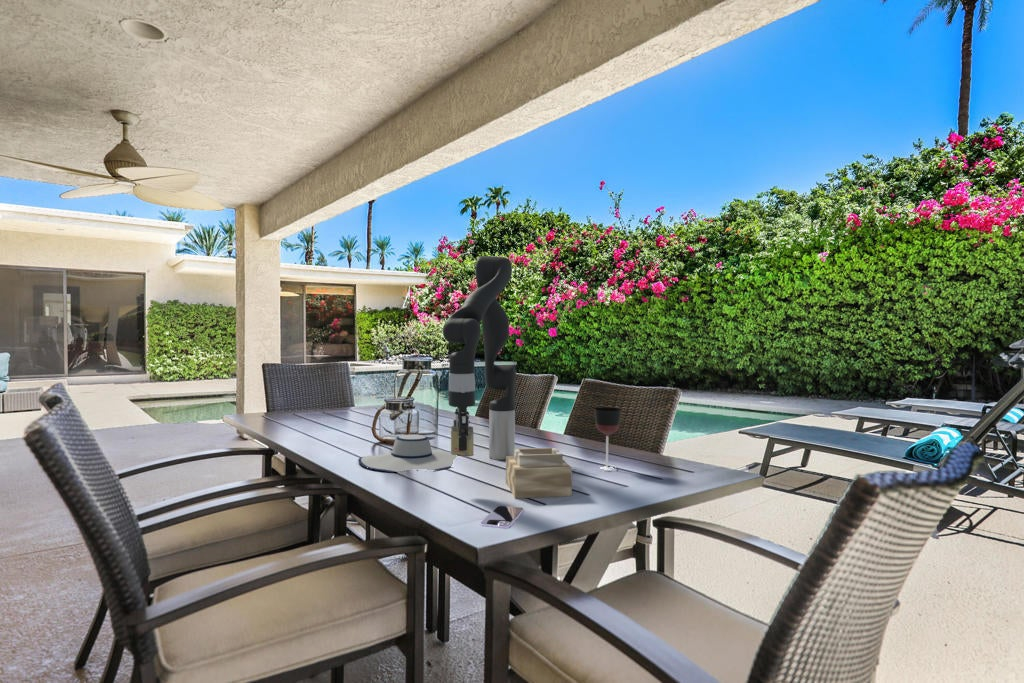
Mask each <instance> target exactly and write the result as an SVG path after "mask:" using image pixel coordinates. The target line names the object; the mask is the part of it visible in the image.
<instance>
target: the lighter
mask: <svg viewBox="0 0 1024 683" xmlns="http://www.w3.org/2000/svg"><path fill="white" fill-rule="evenodd" d="M452 422H453V423H452V424H453V425H451V427H450V428H451V429H450V452H451V454H452V455H457V456H460V457H466V458H467V457H469V458H470V457H473V456H475V455H474V434H475V433H474V427H473V426H470V425H469V428H468V436H467V450H466V451H459V437H458V430H457V428H456V420H455V419H453V421H452ZM469 424H471V422H470V420H469ZM461 432H465V429H461Z"/></svg>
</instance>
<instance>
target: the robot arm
mask: <svg viewBox="0 0 1024 683" xmlns="http://www.w3.org/2000/svg"><path fill="white" fill-rule="evenodd" d="M512 274H513V267H512V262H511V260H510V259H509V258H507V257H503V256H494V255H493V256H492V255H491V256H489V255H482V256H479V257H478V258H477V259H476V263H475V279H476V285H477V288H476V289H475V290H473V291H472V292H471V293H469V294H468V296H467V297H466V298H465V299H464V302H463V303H462V305H461V307H460V308H459V309H457V310H456V311H455V312H453V313H452V314H451V315H450V316H449V317H448V318H447V319H446V321H445V323H444V324H443V328H442V336H443V338H444V339H445V341H446V342H448V343H450V344H464V347H463V348H462V350H460V351H453V352H452V353H451V354H450V355H449V373H448V374H449V376H448V406H449V407H452V408H456V409H455V411H454V420H456V428H457V430H458V437H459V451H466V450H467V436H468V428H469V426H470V423H469V421H470V412H469V411H468V409H467V408H470V407H475V405H476V376H475V358H476V352H477V348H478V345H479V341H480V338H481V335H482V340H483V348H484V350H483V351H484V380H485V386H486V388H487V390H488V391H500V392H501V391H502V392H503V391H504V392H505V394H504V395H503V396H502V397H499V398H496V399H494V400H491V401H490V402H489V404H488V405H489V406H488V408H489V409H488V410H489V411H488V412H489V413H488V415H489V422H488V424H489V426H488V427H489V430H488V436H489V437H488V439H489V440H488V458H490V459H494V460H500V461H501V460H503V461H506V457H507V456H514V449H516V448H515V447H516V443H515V442H516V440H515V439H516V431H515V430H516V426H515V425H516V420H515V419H516V382H517V371H516V368H515V366H514V365H511V364H495V361H496V359H497V357H498V355H499V353H500V352H501V350H502V349H503V347H504V346H505V344H506V343H507V342H508V339H509V338H510V337H509V336H510V322H509V316H508V314H507V312H506V311H505V309H504V308H503V306H502V305H501V304H500V302H499V301H498V300H497V297H498V296H499V295H500V293H502V291H503V290H504V289H505V288H506V287H507V285H508V284H509V282H510V280H511V278H512ZM480 323H481V324H480ZM461 429H465V432H461Z"/></svg>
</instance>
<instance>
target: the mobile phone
mask: <svg viewBox="0 0 1024 683" xmlns="http://www.w3.org/2000/svg"><path fill="white" fill-rule="evenodd" d="M524 511H525V509H524V508H523V507H517V506H508V505H497V506H495V507H494V509H493V510H492V511H490V513H488V515H487V516H485V517H484V518H483V519H482V520H481V522H479V525H480V526H481V525H483V526H482V527H487V526H494V527H493V528H496V527H501V528H500V529H509V528H508V527H510V526H511V527H512V525H513V524H514V523H515V522H516V521H517V520H518V518H519V517H520V516H521V515H522V513H524ZM516 519H517V520H516ZM515 520H516V521H515ZM511 527H510V528H511Z"/></svg>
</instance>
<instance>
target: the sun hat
mask: <svg viewBox="0 0 1024 683" xmlns="http://www.w3.org/2000/svg"><path fill="white" fill-rule="evenodd" d="M390 452H391V453H389V452H386V453H387V454H386V453H382V454H383V455H382V454H377V455H368V456H367V457H366V456H361V457H359V458H358V459H357V461H358V463H359V465H361V466H362V467H363V466H364V468H365V467H368V468H370V469H369V470H372V469H374V471H381V472H387V473H388V472H389V473H393V472H396V471H404V470H405V471H406V470H412V469H427V470H438V471H441V469H442V470H446V468H447V469H450V468H449V467H451V466H452V464H453V460H454V459H455V458H456V457H457V456H456V455H452V454H451V451H448V450H443V449H432V446H431V442H430V439H429V437H428V436H427V435H423V434H414V433H413V434H402V435H398V436H396V438H395V440H394V442H393V447H392V451H390ZM368 468H367V469H368Z"/></svg>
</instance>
